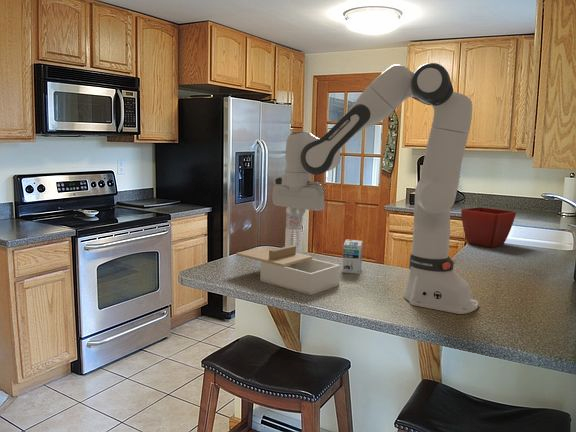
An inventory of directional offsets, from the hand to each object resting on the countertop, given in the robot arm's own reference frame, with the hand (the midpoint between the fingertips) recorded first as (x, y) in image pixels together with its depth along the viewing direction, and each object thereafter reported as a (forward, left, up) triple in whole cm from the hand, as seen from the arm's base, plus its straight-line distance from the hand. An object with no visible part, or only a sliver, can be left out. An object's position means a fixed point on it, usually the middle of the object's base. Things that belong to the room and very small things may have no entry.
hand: (297, 221), depth 170 cm
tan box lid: (+10, 0, -14) cm, 17 cm away
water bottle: (+21, -24, -22) cm, 39 cm away
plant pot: (-24, -118, -22) cm, 122 cm away
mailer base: (-2, 0, -21) cm, 21 cm away
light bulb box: (-5, -28, -22) cm, 36 cm away
